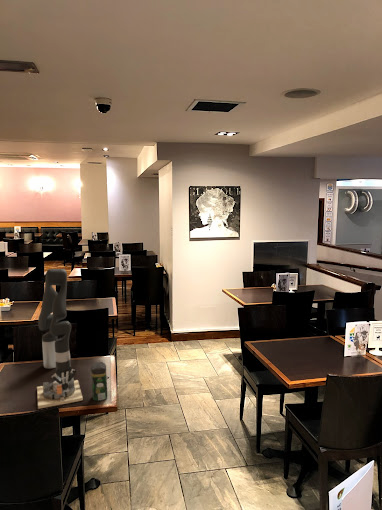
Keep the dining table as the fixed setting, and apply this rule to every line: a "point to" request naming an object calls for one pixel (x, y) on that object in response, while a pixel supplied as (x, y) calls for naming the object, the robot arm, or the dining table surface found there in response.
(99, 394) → the coffee jar
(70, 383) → the ring nut
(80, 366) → the dining table surface
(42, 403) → the base plate
